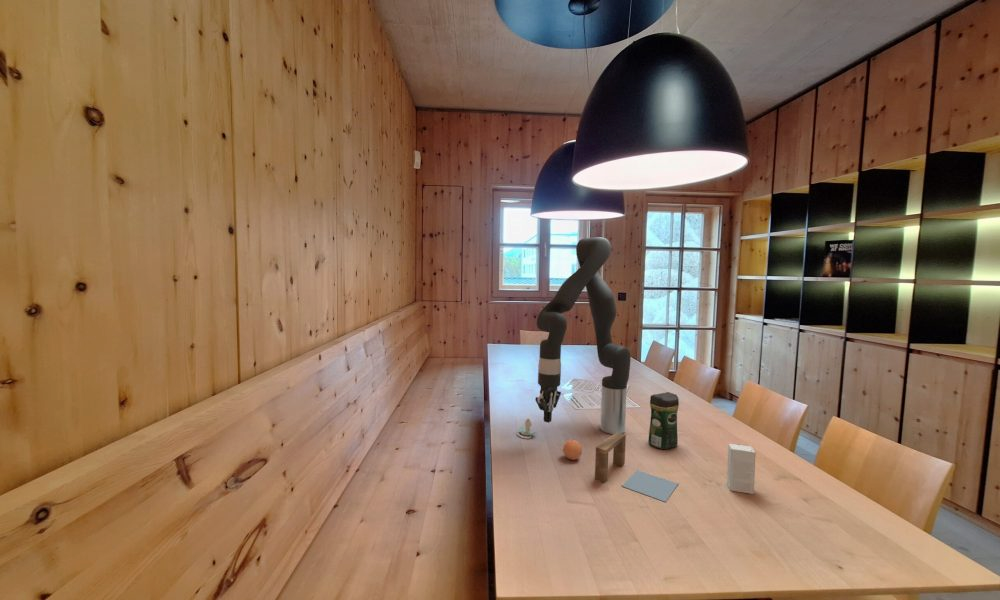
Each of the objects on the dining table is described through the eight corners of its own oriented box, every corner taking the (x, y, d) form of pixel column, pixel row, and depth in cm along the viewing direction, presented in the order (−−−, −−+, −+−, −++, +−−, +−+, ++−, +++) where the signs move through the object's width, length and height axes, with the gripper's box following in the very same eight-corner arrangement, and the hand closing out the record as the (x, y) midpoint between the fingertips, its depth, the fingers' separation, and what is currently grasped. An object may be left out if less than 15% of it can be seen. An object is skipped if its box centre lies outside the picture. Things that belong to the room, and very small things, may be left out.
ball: (568, 452, 134) (569, 435, 133) (584, 458, 130) (585, 440, 129) (559, 459, 129) (559, 441, 128) (576, 464, 125) (576, 446, 125)
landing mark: (636, 470, 122) (637, 470, 122) (678, 484, 115) (678, 483, 115) (621, 486, 113) (621, 485, 113) (665, 502, 105) (665, 501, 105)
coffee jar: (662, 438, 147) (664, 388, 146) (681, 446, 140) (683, 394, 139) (643, 442, 143) (646, 392, 142) (662, 451, 136) (664, 398, 135)
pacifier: (526, 441, 143) (538, 437, 146) (525, 424, 142) (538, 420, 146) (513, 434, 149) (525, 430, 152) (513, 418, 148) (525, 414, 152)
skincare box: (749, 487, 114) (752, 446, 113) (753, 494, 110) (756, 452, 109) (725, 483, 116) (728, 443, 115) (729, 490, 112) (731, 449, 111)
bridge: (594, 479, 116) (595, 447, 116) (615, 461, 128) (616, 432, 127) (604, 483, 114) (605, 450, 114) (624, 464, 126) (625, 434, 125)
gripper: (548, 376, 126) (546, 430, 127) (569, 369, 136) (567, 419, 137) (529, 372, 131) (527, 424, 132) (550, 366, 141) (548, 414, 142)
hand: (547, 421), depth 135 cm, fingers closed
